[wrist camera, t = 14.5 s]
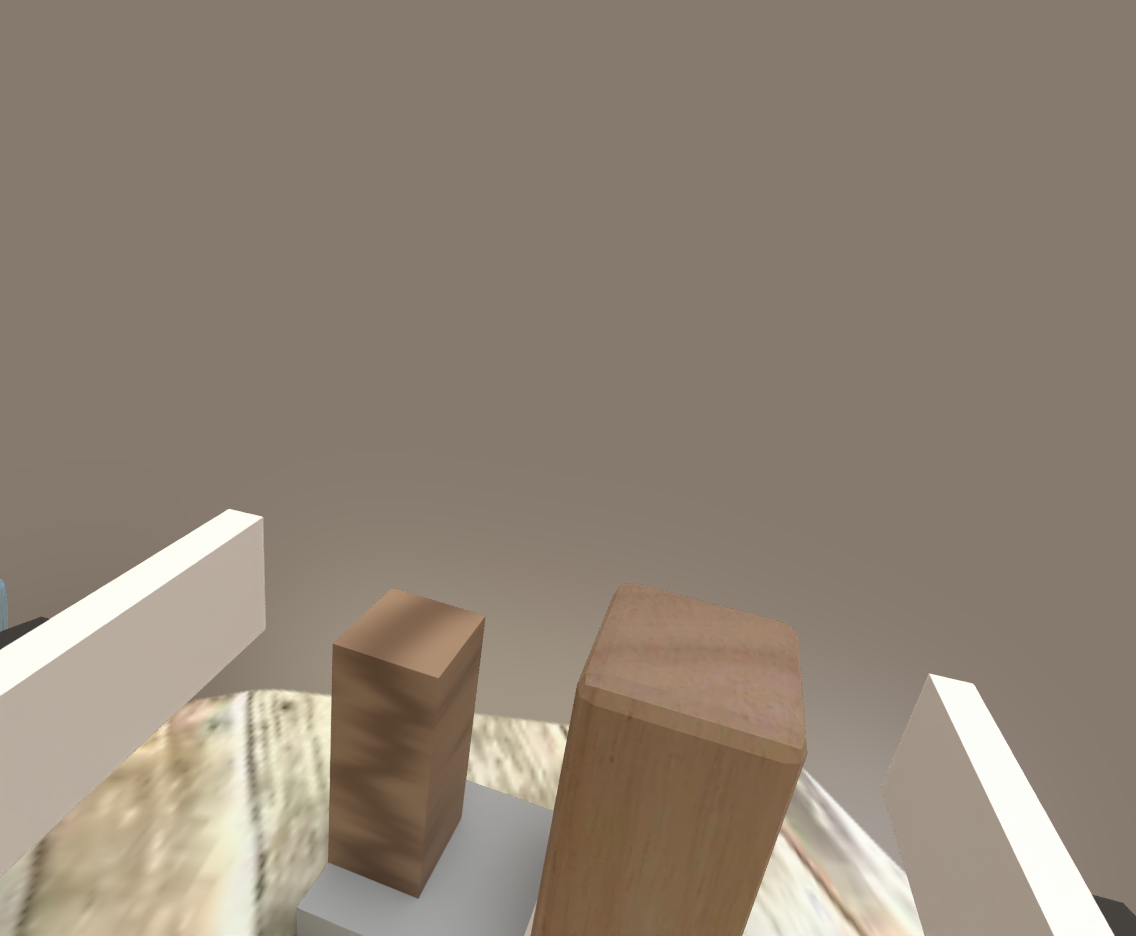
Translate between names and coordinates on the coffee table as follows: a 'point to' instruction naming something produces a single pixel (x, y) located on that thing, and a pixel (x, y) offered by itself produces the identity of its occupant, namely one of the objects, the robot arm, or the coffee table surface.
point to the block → (673, 771)
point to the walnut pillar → (401, 737)
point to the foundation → (447, 880)
